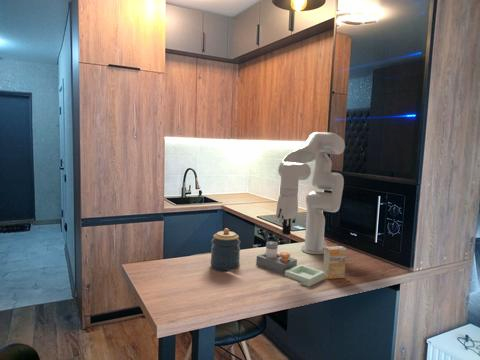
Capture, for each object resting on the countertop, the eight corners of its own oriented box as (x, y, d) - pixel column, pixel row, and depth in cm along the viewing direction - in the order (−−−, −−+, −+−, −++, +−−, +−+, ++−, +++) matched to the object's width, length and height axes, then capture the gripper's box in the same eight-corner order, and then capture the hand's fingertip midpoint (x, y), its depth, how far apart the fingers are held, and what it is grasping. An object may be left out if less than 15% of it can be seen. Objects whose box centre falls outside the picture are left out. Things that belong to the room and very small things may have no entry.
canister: (236, 273, 154) (237, 233, 151) (206, 270, 156) (208, 230, 154) (241, 263, 166) (243, 226, 164) (214, 260, 169) (216, 223, 167)
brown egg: (283, 262, 161) (284, 251, 161) (291, 264, 159) (292, 254, 158) (277, 264, 158) (278, 253, 158) (285, 267, 155) (286, 256, 155)
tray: (300, 270, 160) (300, 264, 160) (324, 278, 152) (324, 271, 152) (284, 277, 151) (284, 270, 151) (309, 286, 143) (309, 279, 143)
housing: (269, 261, 170) (270, 251, 170) (296, 270, 160) (296, 259, 160) (256, 266, 163) (256, 255, 163) (283, 276, 153) (283, 264, 152)
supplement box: (327, 279, 151) (329, 249, 150) (321, 275, 156) (324, 246, 154) (344, 278, 154) (347, 248, 152) (338, 274, 158) (341, 245, 157)
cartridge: (269, 261, 167) (271, 240, 166) (278, 264, 164) (280, 243, 163) (262, 264, 164) (263, 242, 162) (271, 267, 160) (273, 245, 159)
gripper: (291, 190, 163) (289, 229, 165) (271, 192, 152) (268, 235, 154) (305, 192, 158) (303, 233, 160) (285, 195, 147) (283, 238, 149)
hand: (286, 233), depth 157 cm, fingers closed
